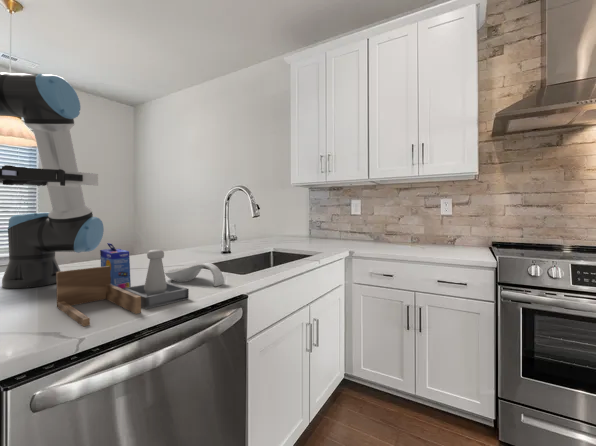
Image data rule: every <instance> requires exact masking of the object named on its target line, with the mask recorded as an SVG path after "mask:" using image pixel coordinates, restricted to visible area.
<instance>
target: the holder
mask: <svg viewBox="0 0 596 446" xmlns="http://www.w3.org/2000/svg"><path fill="white" fill-rule="evenodd" d="M55 285H56V308H57V309H59V310H60V311H62V312H63V313H64V314H66V315H67V316H68V317H70V318H71V319H72V320H73V321H75V322H76V323H78V324H79V325H81V326H82V327H86V326H90V325H91V319H90V318H91V317H89V316H87V315H85V314H84V313H83V312H81V311H79V310H78V309H77V308H75V307H73V306H75V305H82V304H86V303H93V302H98V301H102V300H107V301H109V302H111V303H113V304H115V305H117V306H118V307H120V308H124V309H125V310H127V311H129V312H131V313H132V314H136V315H137V314H140V313H142V307H141V296H139V295H136V294H134V293H131V292H129V291H126V290H124V289H121V288H119V287H117V286H114V285H112V284H111V283H110V266H103V267H101V266H97V267H87V268H79V269H77V268H76V269H70V270H69V269H68V270H60V272H56V283H55Z"/></svg>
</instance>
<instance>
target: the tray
mask: <svg viewBox="0 0 596 446" xmlns="http://www.w3.org/2000/svg"><path fill="white" fill-rule="evenodd" d="M166 285H167V289H166V291H165V293H161V294H156V295H151V296H147V294H146V292H145V290H144V286H145V284H139V285H133V286H131V287H127V288H122V289H124V290H126V291H129V292H131V293H134V294H136V295H139V296H141V309H145V310H147V309H152V308H157V307H159V306H165V305H169V304H173V303H177V302H182V301H185V300H189V291H190V290H189V288H187V287H184V286H180V285H178V284H174V283H172V282H169V281H168V282H167V281H166Z"/></svg>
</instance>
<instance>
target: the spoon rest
mask: <svg viewBox="0 0 596 446" xmlns="http://www.w3.org/2000/svg"><path fill="white" fill-rule="evenodd" d="M203 268H206V269H208V270H209V271H210V272H211V274H212V276H213V277H212V279H213V286H214V288H215V287H220V286H223V285H224V284H225V277H224V274H223V272H222V271H221V269H220V268H219V267H218V266H217V265H215V264H213V263H211V262H205V263H200V264H194V265H192V266H191V265H190V266H188V267H180V268H179V267H178V268H173V269H168V270H166V271H165V270H164V274H165V277H166V276H167V278H169V279H170V280H172V281H174V282H179V283H181V282H182V283H183V282H190V281H192V280H193V279H194V278H196V277H197V276H198V275H199V273H200V272H201V271H202V269H203Z"/></svg>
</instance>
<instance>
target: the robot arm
mask: <svg viewBox="0 0 596 446" xmlns="http://www.w3.org/2000/svg"><path fill="white" fill-rule="evenodd" d="M80 111H81V101H80V98H79V95H78V94H77V91H76V90H75V89H74V87H73V86H72V85H71V84H70V83H69V82H68V80H66V79H65V78H63V77H62V76H59V75H55V74H49V73H48V74H47V73H13V72H12V73H11V72H0V116H3V117H4V116H5V117H6V116H7V117H17V118H23V121H24V125H26V126H27V127H29V129H31V130H32V131H33V134H34V138H35V142H36V147H37V149H38V155H39V158H40V162H41V166H42V168H35V167H33V168H32V167H26V166H15V165H10V164H9V165H8V164H7V165H5V164H4V165H3V166H2V165H1V167H0V183H2V185H4V186H13V185H15V186H18V185H19V186H24V185H29V186H37V187H40V186H42V187H43V186H44V187H45V186H46V187H47V191H48V196H49V199H50V200H49V201H50V204H51V207H52V210H51V211H49V212H47V211H46V212H35V213H34V212H33V213H32V212H31V213H21V214H20V213H19V214H15V215H12V216H10V218H9V219H8V227H7V235H8V236H7V239H8V259H9V260H8V264H7V266H6V268H5V271H4V274H3V276H2V279H1V286H2V288H4V289H26V288H37V287H45V286H49V285H54V284H56V272H60V271H61V268H60V266H59V263H58V262H57V259H56V253H78V254H79V253H90V252H92V251H94V250H96V249H97V248H98V247H99V245H100V244H101V242H102V240H103V237H104V224H103V221H102V220H101V218H99V217H96V216H94V215H93V211H92V208H89V206H88V205H86V203H85V198H84V193H83V188H82V185H83V186H85V185H86V186H99V174H98V173H92V172H91V173H90V172H81V171H80V172H79V168H78V165H77V164H78V163H77V159H76V154H75V149H74V144H73V141H72V140H73V139H72V134H71V129H72V128H73V127H74V126H75V119H77V118H78V116H79V115H80V113H81V112H80Z"/></svg>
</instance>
